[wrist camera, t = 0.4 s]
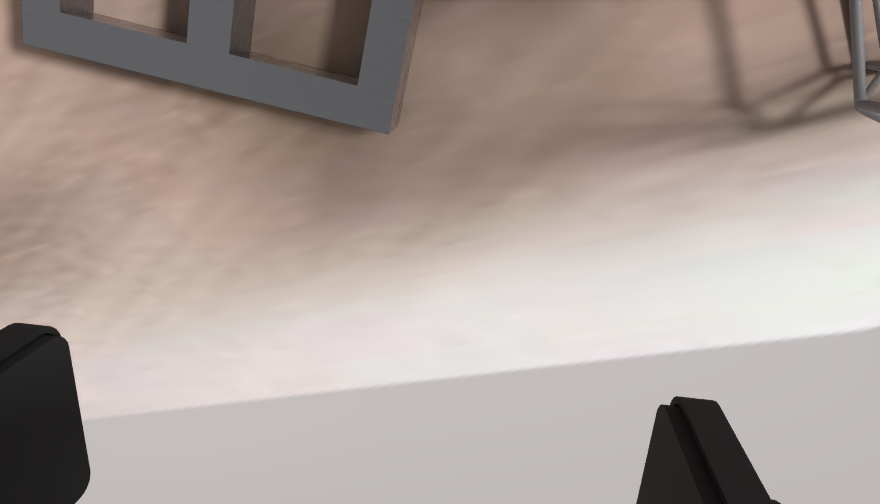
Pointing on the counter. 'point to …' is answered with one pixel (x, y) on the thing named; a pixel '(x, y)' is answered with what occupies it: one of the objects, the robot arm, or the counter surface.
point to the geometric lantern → (863, 61)
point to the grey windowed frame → (240, 56)
